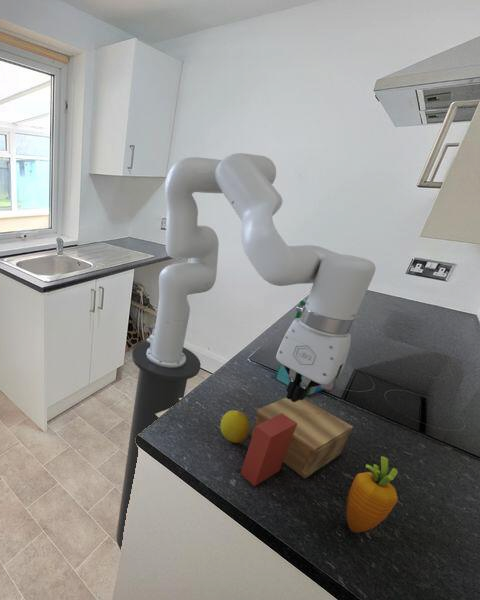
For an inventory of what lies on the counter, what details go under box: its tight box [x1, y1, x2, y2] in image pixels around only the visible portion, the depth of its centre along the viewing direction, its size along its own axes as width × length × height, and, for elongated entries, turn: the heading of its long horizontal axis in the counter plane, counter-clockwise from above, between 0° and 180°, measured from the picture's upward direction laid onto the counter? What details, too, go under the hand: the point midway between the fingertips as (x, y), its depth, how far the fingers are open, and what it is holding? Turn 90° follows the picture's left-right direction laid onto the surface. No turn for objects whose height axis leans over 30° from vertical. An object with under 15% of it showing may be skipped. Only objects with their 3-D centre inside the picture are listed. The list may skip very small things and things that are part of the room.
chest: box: [250, 413, 352, 479], centre depth 67 cm, size 14×12×7 cm
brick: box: [239, 413, 297, 487], centre depth 59 cm, size 3×8×12 cm, turn 117°
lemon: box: [219, 410, 250, 444], centre depth 67 cm, size 6×6×8 cm
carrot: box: [345, 456, 399, 534], centre depth 49 cm, size 5×5×15 cm
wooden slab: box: [256, 397, 354, 452], centre depth 65 cm, size 14×12×1 cm
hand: (293, 398), depth 66 cm, fingers closed
